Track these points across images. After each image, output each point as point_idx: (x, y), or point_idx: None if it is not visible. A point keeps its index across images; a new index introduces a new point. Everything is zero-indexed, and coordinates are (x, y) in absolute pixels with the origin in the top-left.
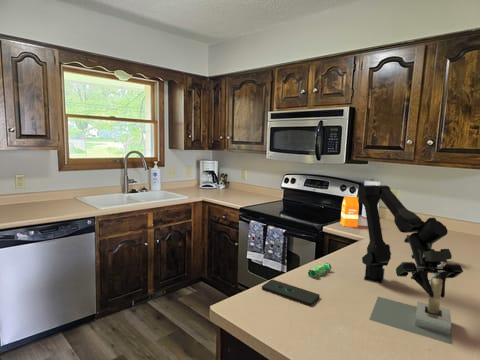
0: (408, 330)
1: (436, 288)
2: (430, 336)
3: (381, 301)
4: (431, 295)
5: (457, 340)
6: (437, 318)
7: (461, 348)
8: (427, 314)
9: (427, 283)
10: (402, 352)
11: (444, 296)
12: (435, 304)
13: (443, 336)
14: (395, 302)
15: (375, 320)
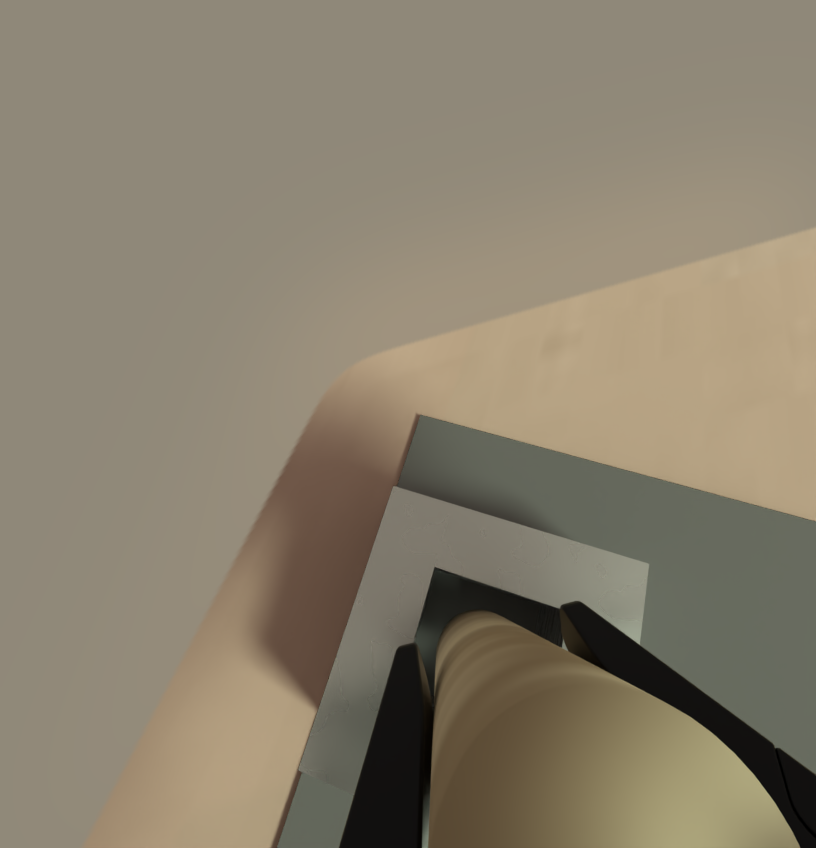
0: (651, 487)
1: (560, 649)
2: (524, 458)
3: None
4: (590, 615)
5: (371, 474)
6: (480, 527)
7: (382, 401)
8: (551, 574)
9: (790, 786)
10: (687, 284)
11: (399, 647)
12: (496, 619)
13: (444, 482)
14: None
15: None
